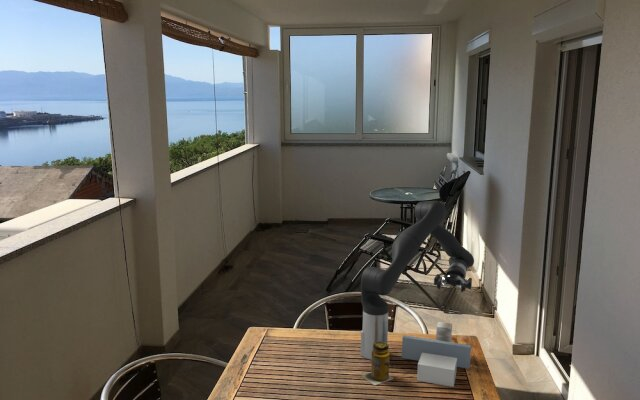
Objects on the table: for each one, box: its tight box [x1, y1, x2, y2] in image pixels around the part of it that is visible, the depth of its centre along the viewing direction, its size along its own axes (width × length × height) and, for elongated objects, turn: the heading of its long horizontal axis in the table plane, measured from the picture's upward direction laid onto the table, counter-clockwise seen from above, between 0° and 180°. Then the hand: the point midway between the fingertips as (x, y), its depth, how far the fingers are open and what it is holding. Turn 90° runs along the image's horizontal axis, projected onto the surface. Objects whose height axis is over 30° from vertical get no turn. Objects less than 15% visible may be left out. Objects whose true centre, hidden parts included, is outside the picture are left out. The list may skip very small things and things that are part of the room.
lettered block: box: [435, 321, 453, 342], centre depth 199 cm, size 5×5×12 cm
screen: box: [401, 334, 472, 369], centre depth 195 cm, size 24×2×8 cm, turn 71°
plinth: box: [416, 353, 458, 388], centre depth 184 cm, size 12×9×6 cm
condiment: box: [361, 342, 395, 386], centre depth 183 cm, size 7×8×12 cm
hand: (450, 288), depth 206 cm, fingers open, 8 cm apart
